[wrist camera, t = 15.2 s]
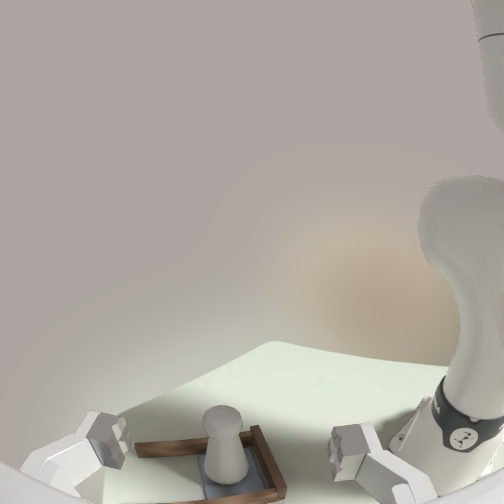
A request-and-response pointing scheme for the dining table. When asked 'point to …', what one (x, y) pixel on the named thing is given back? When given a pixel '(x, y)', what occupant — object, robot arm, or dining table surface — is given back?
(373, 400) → the dining table surface
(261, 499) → the bay
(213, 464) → the salt shaker
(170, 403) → the dining table surface
